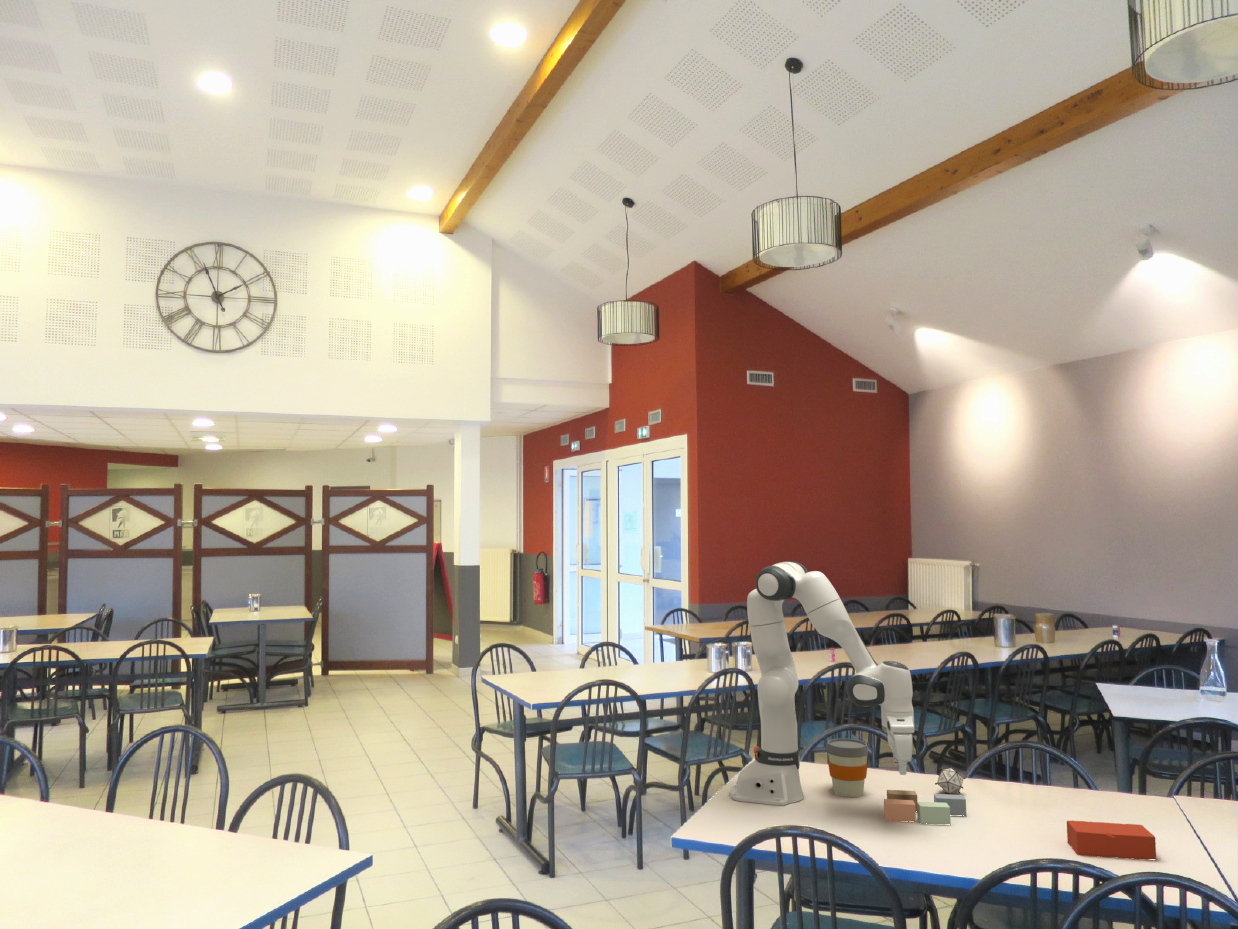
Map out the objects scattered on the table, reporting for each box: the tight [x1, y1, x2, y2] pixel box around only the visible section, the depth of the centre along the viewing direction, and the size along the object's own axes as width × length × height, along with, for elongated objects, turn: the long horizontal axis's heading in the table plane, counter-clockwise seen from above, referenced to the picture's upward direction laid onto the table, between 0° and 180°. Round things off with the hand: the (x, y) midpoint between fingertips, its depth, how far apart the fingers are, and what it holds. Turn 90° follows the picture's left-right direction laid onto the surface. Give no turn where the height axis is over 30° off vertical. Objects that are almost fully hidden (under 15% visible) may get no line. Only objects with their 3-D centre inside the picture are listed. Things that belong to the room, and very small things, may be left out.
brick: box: [1066, 820, 1157, 860], centre depth 219 cm, size 18×9×6 cm, turn 78°
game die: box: [934, 765, 967, 795], centre depth 266 cm, size 9×8×10 cm
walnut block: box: [886, 789, 918, 811], centre depth 252 cm, size 8×4×5 cm, turn 81°
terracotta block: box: [883, 798, 917, 823], centre depth 243 cm, size 8×4×5 cm, turn 81°
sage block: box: [916, 801, 952, 826], centre depth 241 cm, size 8×4×5 cm, turn 83°
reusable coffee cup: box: [826, 738, 869, 798], centre depth 268 cm, size 13×13×15 cm
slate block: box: [933, 793, 967, 817], centre depth 248 cm, size 8×4×5 cm, turn 80°
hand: (900, 769), depth 244 cm, fingers open, 8 cm apart
